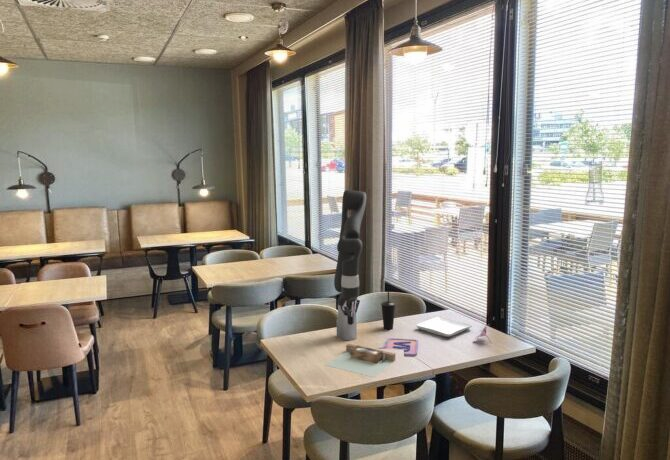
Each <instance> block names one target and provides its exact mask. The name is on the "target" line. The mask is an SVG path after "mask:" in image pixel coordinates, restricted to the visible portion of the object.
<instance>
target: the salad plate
mask: <svg viewBox="0 0 670 460" xmlns="http://www.w3.org/2000/svg"><path fill="white" fill-rule="evenodd" d="M415 326H416V327H417V328H418V329H420V330H422V331H425V332H427V333H430V334H435V335H438V336H441V337H444V338H445V337H446V338H450V337H452V336H455V335H457V334H460V333H461V332H465V331H467V330H469V329H470V328H472V326H473V324H469V323H467V322H464V321H463V322H462V321H460V320H456V319H451V318H448V317H443V316H436V317H433V318H431V319H427V320H424V321H422V322H419V323H417V324H416V325H415Z"/></svg>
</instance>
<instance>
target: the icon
mask: <svg viewBox="0 0 670 460" xmlns="http://www.w3.org/2000/svg"><path fill="white" fill-rule="evenodd" d="M374 349H377V350H403V356H404V357H417V356H418V349H419V340H418V339H415V338H399V337H397V338H396V337H390V338H387V339H386V344H385V346H381V347H376V348H374Z"/></svg>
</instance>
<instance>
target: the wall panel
mask: <svg viewBox="0 0 670 460" xmlns="http://www.w3.org/2000/svg"><path fill="white" fill-rule="evenodd" d="M355 346H357V344H351V343H347V344H346V345H345V348H346V350H345V352H343V353H341V354H340V355H338V356H337V357H335V358H334V359H332V360H330V361H329V362H327V363H326V364H325V366H326V367H331V368H335V369H339V370H344V371H348V372H350V373H355V374H359V375H364V376H368V377H371V378H376V376H378V375H380V373H381V372H383V371H384V370H386V369H387V368H388V367H389V366H390V365H391V364H393V363H394V362H395V361H396V352H395V353H393V352H388V351H384V350H382V351H383V355H382V360H381V361H380V362H378V363H377V364H376V363H371V362H367V361H363V360H358V359H354V358H351V349H352V348H354V347H355Z"/></svg>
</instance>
